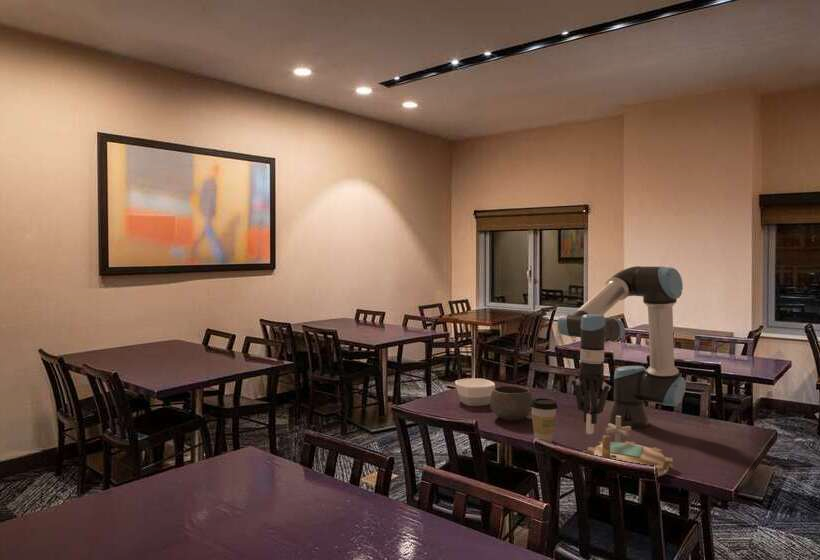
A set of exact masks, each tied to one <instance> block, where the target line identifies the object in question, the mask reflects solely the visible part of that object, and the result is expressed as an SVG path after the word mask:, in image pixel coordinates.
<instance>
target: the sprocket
mask: <svg viewBox="0 0 820 560" xmlns="http://www.w3.org/2000/svg"><path fill="white" fill-rule="evenodd" d="M611 440H612V439H611V436H610V435H608V434H605V435H604V434H603V435H602V441H598V442H597V445H596V446H595V447H592V446H588V447H587V453H590V454H594V455H598V456H602V457H606V458H612V459H616V460H622V461H627V462H633V463H640V464H647V465H655V466H656V468H657V472H658V475H660V474H664V468H665V467H669V468H673V463H674V461H673V457H668V456H665V455H664V454H663V452H664V451H663V449H660V448H658V447H648V446H644V445H640V444H636V442H635V441H627V440H626V441H624V442H620V443H617V442H615V441H611Z"/></svg>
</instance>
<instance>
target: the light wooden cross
mask: <svg viewBox="0 0 820 560" xmlns="http://www.w3.org/2000/svg"><path fill="white" fill-rule="evenodd" d="M632 429H633V428H631V427H630V426H626V427H622V426H621V416H616V425H615V424H612V423H611V422H609V423H607V427H606V428H604V433H605V434H615V435H614V437H615V438H614V440H615V441H614V442H617V443H622V442H621V439H622V438H621V435H622V436H625V437H628V436H629V435H630V432H632Z"/></svg>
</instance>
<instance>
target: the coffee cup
mask: <svg viewBox="0 0 820 560" xmlns="http://www.w3.org/2000/svg"><path fill="white" fill-rule="evenodd" d="M530 406H531V407H532V411H531V419H532V427H533V428H532V429H533V437H534V440H535V439H536V438H538V439H543V440H547V441H551V442H553V436H554V432H555V426H556V425H555V424H556V418H557V409H558V408H559V407H558V404H557V401H556V400H555V399H552V398H548V397H535V398H533V400H532V402H531V405H530Z"/></svg>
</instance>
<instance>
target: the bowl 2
mask: <svg viewBox="0 0 820 560" xmlns="http://www.w3.org/2000/svg"><path fill="white" fill-rule="evenodd" d="M533 399H534V397H533V393H532V392H531V390H530V389H529V388H525V387H523V386H517V385H500V386H495V388H494V390H493V391H492V394H491V398H490V403H489V405H490V409H491V411H492V412H493V413H494V415H495V416H497V417H498V418H500V419H502V420H504V421H509V422H511V421H512V422H515V421H520V420H523V419H525V418H527V417H528V416H529V415H530V414H532V407H531V406H530V405H531V402H532V400H533Z"/></svg>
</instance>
